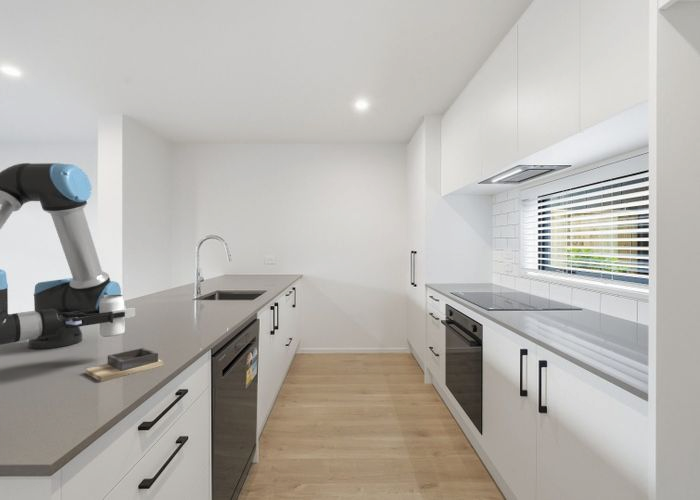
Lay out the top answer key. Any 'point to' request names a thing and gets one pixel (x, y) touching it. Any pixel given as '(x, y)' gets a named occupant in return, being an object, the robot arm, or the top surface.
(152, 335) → the top surface
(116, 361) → the seat block
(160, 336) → the top surface
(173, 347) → the top surface
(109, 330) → the can
